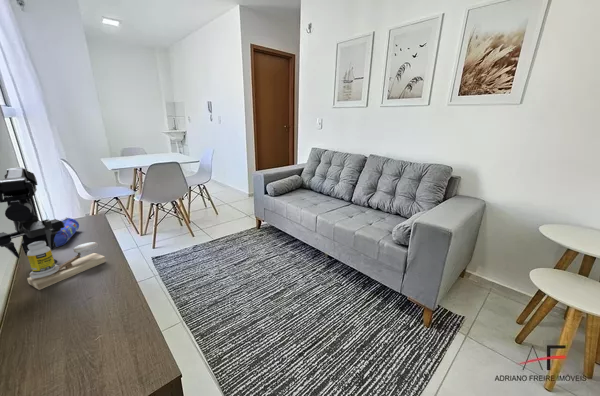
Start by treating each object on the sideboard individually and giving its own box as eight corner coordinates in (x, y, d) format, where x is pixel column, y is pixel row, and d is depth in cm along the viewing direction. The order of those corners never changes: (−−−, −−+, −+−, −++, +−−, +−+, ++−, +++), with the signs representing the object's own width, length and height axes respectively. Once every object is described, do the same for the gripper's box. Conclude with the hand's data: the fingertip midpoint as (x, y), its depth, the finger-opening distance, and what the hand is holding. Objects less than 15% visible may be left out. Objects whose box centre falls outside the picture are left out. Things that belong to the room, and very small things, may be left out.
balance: (29, 284, 94) (22, 264, 92) (95, 257, 113) (91, 240, 111) (39, 289, 91) (32, 269, 88) (105, 261, 110) (101, 244, 108)
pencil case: (61, 233, 139) (57, 216, 136) (81, 230, 143) (77, 214, 140) (46, 249, 120) (41, 231, 118) (69, 245, 124) (65, 228, 122)
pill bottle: (41, 275, 91) (32, 248, 88) (28, 273, 92) (19, 246, 89) (60, 266, 97) (52, 240, 94) (47, 264, 98) (39, 239, 95)
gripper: (-7, 226, 78) (9, 270, 83) (67, 209, 95) (76, 246, 99) (-21, 220, 83) (-5, 262, 87) (52, 205, 99) (62, 240, 104)
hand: (35, 252), depth 94 cm, fingers open, 9 cm apart
